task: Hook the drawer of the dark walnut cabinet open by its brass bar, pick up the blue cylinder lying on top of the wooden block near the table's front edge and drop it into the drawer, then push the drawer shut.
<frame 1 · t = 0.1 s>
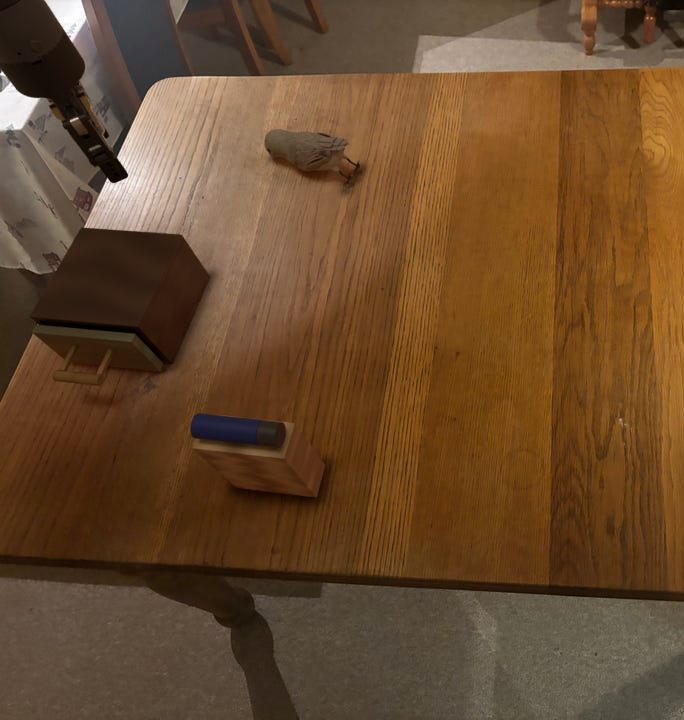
hand: (110, 158, 82), 18 cm above the table, tool pointing down, fingers open, 8 cm apart
decorative bird: (315, 169, 105), on the table
drawer: (111, 324, 86), point 5 cm above the table, slide at 0.5 cm
cabinet: (143, 314, 92), on the table
blue cylinder: (243, 435, 68), point 12 cm above the table, touching wooden block
wooden block: (281, 476, 78), on the table
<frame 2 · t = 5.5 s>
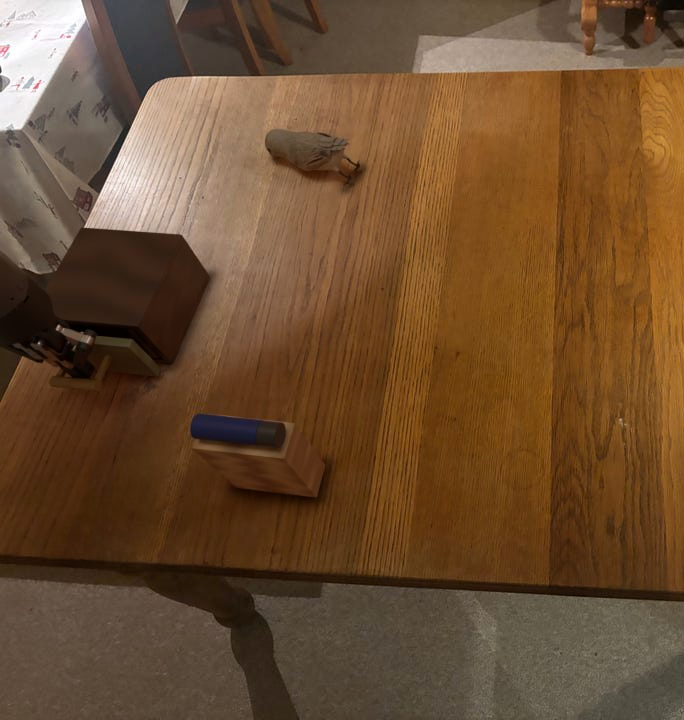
hand: (86, 374, 82), 5 cm above the table, tool pointing down, fingers closed
drawer: (109, 329, 85), point 5 cm above the table, slide at 1.3 cm, touching gripper
everything else where it was.
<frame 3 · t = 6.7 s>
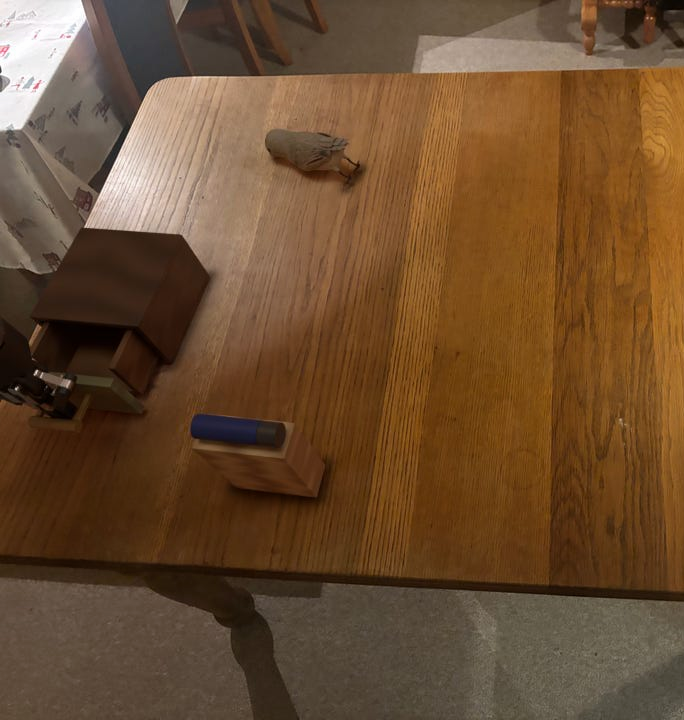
hand: (68, 415, 80), 4 cm above the table, tool pointing down, fingers closed
drawer: (90, 365, 83), point 5 cm above the table, slide at 6.7 cm, touching gripper
everything else where it was.
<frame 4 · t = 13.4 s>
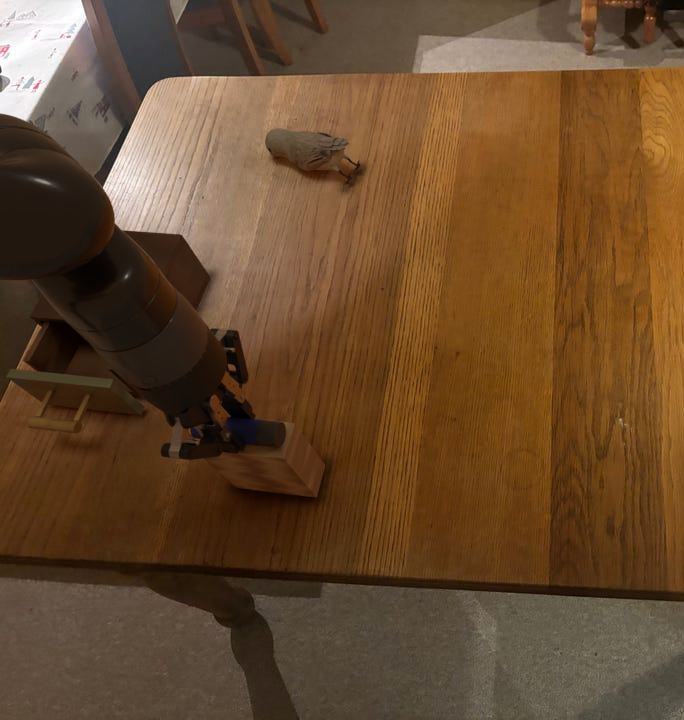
hand: (240, 432, 67), 13 cm above the table, tool pointing down, fingers closed on blue cylinder, 2 cm apart
drawer: (90, 366, 83), point 5 cm above the table, slide at 6.8 cm
blue cylinder: (243, 435, 68), point 12 cm above the table, touching gripper, wooden block
everything else where it was.
when the fingers open (10 cm above the table, at t = 19.6 s): blue cylinder drops 7 cm, resting on drawer.
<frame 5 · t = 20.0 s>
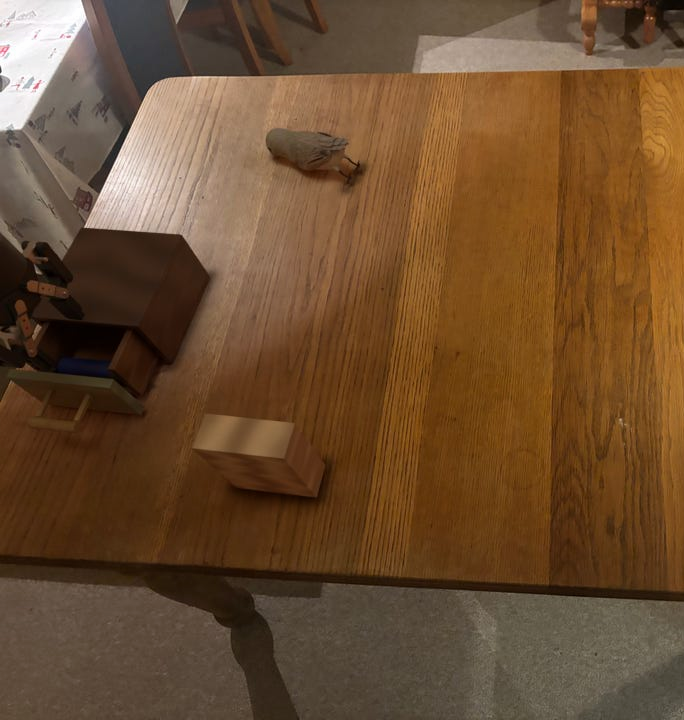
hand: (63, 341, 78), 10 cm above the table, tool pointing down, fingers open, 6 cm apart
drawer: (90, 366, 83), point 5 cm above the table, slide at 6.8 cm, touching blue cylinder
blue cylinder: (102, 375, 85), point 2 cm above the table, touching drawer
everything else where it was.
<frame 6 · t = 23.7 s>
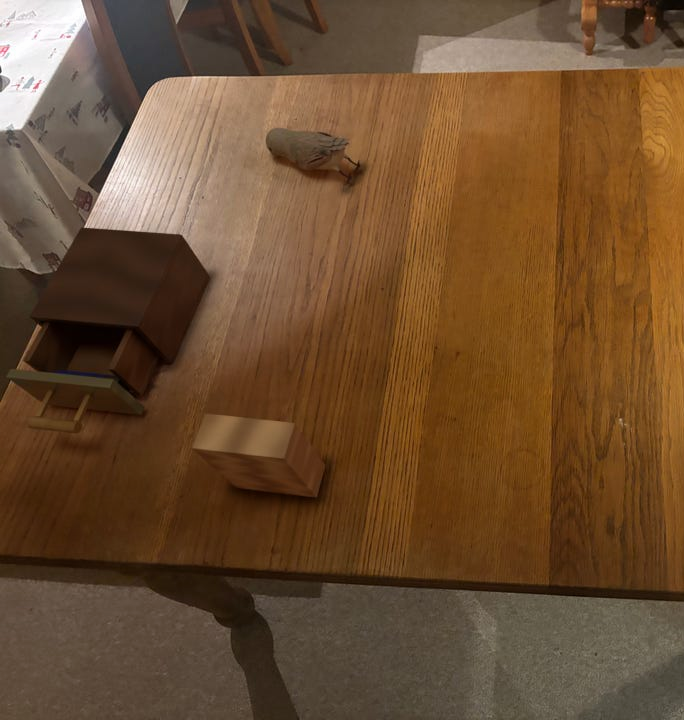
blue cylinder: (95, 375, 83), point 3 cm above the table, tilted 86°, touching drawer
everything else where it was.
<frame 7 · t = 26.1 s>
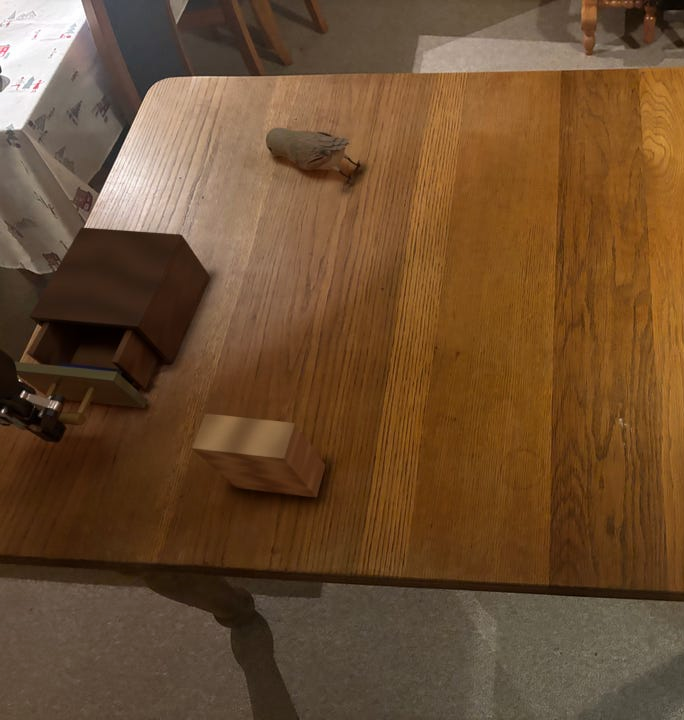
hand: (57, 434, 78), 4 cm above the table, tool pointing down, fingers closed
drawer: (94, 359, 83), point 5 cm above the table, slide at 5.8 cm, touching gripper, blue cylinder
everything else where it was.
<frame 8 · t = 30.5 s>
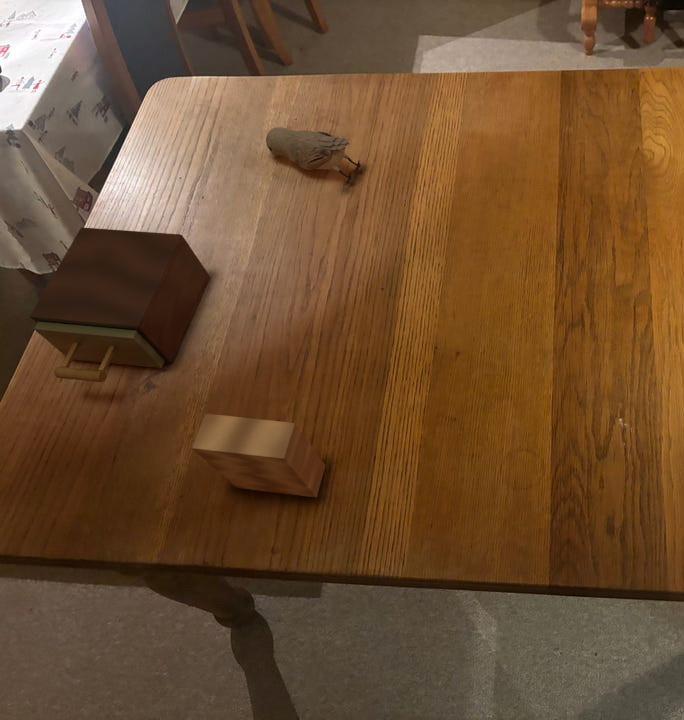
drawer: (113, 321, 86), point 5 cm above the table, slide at 0.0 cm, touching cabinet, blue cylinder
blue cylinder: (123, 301, 88), point 4 cm above the table, tilted 157°, touching drawer
everything else where it was.
at the end: drawer pulled out 6.8 cm at the most during the clip, back to where it started at the end; blue cylinder inside the target area in the cabinet (0.4 cm from its centre), point 4.5 cm above the cabinet's base; drawer slide at 0.0 cm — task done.
